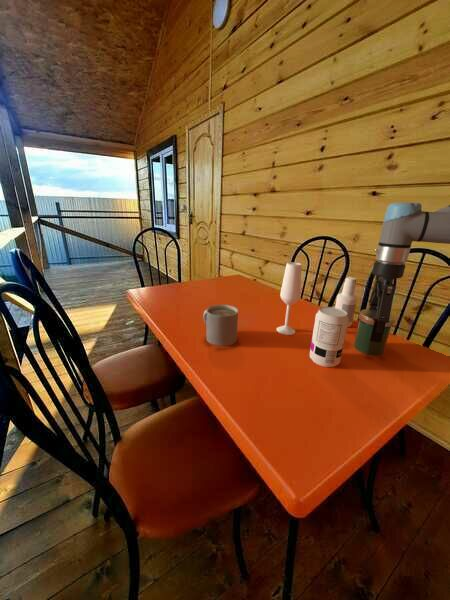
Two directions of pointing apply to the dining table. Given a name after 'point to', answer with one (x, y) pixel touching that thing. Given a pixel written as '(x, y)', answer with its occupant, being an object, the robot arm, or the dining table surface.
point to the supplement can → (328, 336)
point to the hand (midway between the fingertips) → (372, 333)
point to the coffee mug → (221, 324)
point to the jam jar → (364, 342)
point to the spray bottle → (347, 299)
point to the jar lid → (372, 317)
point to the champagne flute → (290, 292)
